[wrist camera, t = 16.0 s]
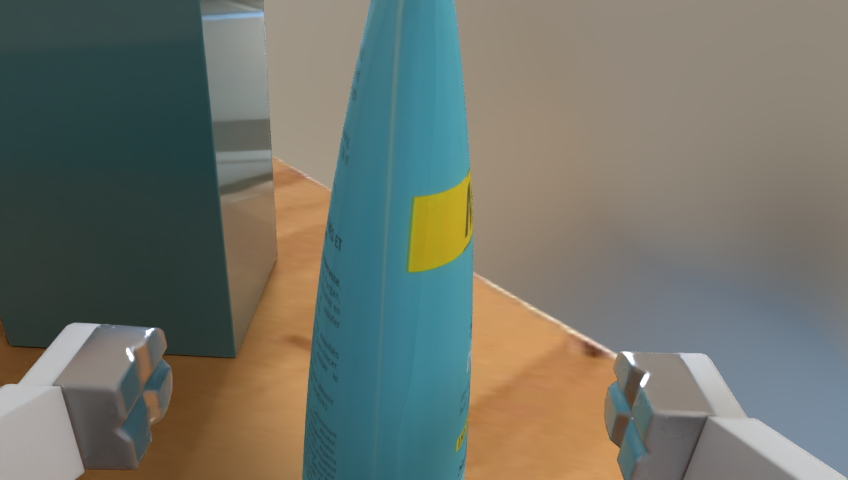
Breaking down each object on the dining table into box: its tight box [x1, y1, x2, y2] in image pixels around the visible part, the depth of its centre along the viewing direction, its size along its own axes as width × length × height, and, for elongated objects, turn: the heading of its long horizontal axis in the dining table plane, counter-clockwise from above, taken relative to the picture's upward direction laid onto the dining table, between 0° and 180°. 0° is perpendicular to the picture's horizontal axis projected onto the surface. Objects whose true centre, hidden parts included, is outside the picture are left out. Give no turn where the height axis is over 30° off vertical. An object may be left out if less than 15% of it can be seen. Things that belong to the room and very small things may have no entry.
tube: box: [302, 0, 473, 480], centre depth 15 cm, size 7×5×19 cm, turn 9°
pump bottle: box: [0, 0, 277, 358], centre depth 27 cm, size 10×10×18 cm
